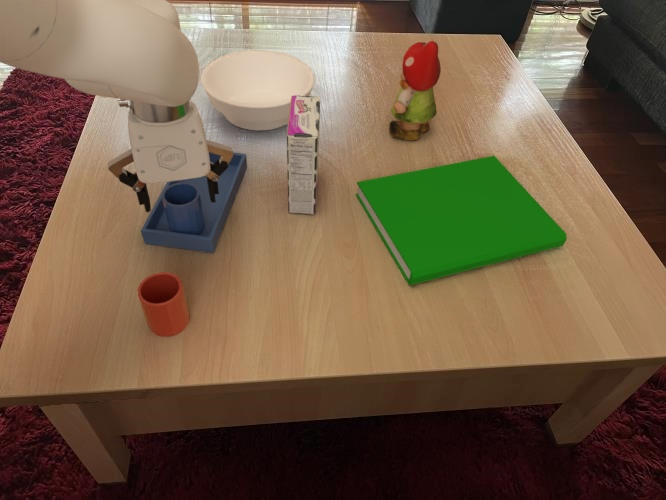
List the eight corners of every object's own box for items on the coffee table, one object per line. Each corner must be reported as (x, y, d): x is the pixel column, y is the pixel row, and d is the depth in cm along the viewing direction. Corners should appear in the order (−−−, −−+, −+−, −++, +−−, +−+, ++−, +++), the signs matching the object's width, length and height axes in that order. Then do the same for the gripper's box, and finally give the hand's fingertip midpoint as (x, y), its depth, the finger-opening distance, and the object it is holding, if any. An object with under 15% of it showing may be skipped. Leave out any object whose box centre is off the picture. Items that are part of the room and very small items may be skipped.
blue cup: (199, 241, 83) (193, 208, 78) (164, 236, 84) (156, 203, 79) (209, 217, 87) (204, 184, 82) (176, 213, 87) (169, 180, 82)
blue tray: (213, 253, 82) (211, 239, 80) (144, 244, 83) (140, 230, 81) (247, 167, 98) (246, 153, 96) (188, 159, 98) (185, 146, 96)
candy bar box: (290, 173, 97) (290, 93, 85) (317, 175, 97) (321, 95, 85) (286, 214, 89) (285, 133, 78) (315, 216, 90) (319, 135, 78)
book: (355, 194, 94) (357, 181, 92) (489, 168, 102) (494, 155, 100) (410, 288, 80) (413, 275, 78) (561, 248, 88) (568, 236, 85)
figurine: (397, 113, 113) (413, 20, 99) (436, 123, 111) (458, 30, 97) (382, 140, 106) (396, 44, 92) (423, 151, 104) (444, 55, 90)
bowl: (329, 133, 107) (331, 96, 101) (219, 153, 100) (215, 115, 94) (293, 79, 121) (293, 43, 115) (195, 93, 114) (190, 56, 108)
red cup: (182, 339, 71) (173, 308, 66) (142, 333, 72) (130, 302, 67) (194, 306, 75) (187, 275, 70) (156, 301, 75) (146, 269, 70)
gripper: (90, 124, 64) (122, 226, 76) (232, 109, 68) (241, 209, 80) (91, 93, 69) (120, 194, 81) (223, 81, 73) (232, 179, 85)
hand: (180, 201), depth 81 cm, fingers open, 9 cm apart
